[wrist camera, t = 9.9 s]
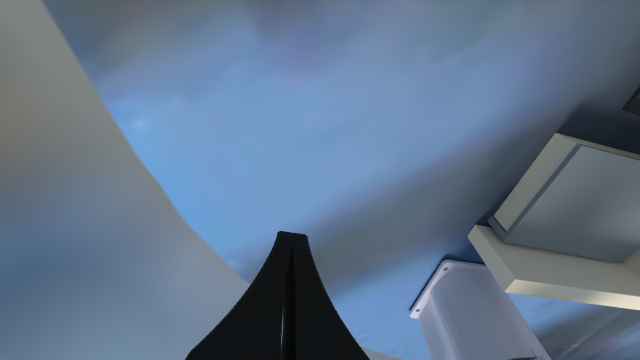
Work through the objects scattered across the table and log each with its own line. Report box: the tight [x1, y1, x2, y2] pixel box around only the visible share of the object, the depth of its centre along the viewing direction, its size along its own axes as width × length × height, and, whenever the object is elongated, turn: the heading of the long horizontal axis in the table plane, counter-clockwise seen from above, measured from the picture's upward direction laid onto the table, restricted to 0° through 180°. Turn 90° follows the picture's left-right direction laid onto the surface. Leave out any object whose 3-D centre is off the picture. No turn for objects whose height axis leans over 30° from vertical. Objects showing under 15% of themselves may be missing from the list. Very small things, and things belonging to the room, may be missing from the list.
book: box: [487, 133, 640, 263], centre depth 23 cm, size 9×12×3 cm
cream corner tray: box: [467, 225, 640, 310], centre depth 21 cm, size 14×15×6 cm
